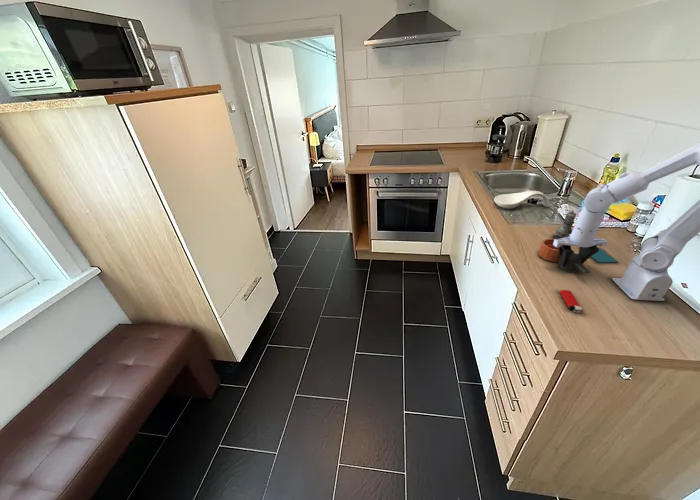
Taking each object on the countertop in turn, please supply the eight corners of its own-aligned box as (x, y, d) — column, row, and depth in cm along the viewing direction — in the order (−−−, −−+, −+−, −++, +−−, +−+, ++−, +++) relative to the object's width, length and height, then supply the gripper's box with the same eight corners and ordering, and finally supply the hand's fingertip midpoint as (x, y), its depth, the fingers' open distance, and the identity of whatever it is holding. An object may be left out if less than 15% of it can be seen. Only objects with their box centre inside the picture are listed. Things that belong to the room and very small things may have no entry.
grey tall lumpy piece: (554, 233, 113) (564, 205, 107) (572, 237, 110) (583, 209, 104) (551, 239, 110) (562, 211, 103) (569, 244, 106) (582, 215, 100)
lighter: (571, 290, 83) (583, 309, 77) (570, 294, 84) (582, 313, 77) (560, 289, 84) (571, 308, 77) (559, 293, 85) (570, 312, 78)
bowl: (569, 263, 96) (575, 251, 94) (543, 262, 98) (548, 250, 95) (558, 250, 103) (563, 239, 100) (534, 250, 104) (538, 238, 102)
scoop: (556, 263, 97) (561, 252, 94) (571, 263, 96) (576, 251, 94) (574, 281, 88) (580, 269, 86) (591, 281, 88) (597, 269, 86)
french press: (498, 159, 204) (506, 124, 192) (505, 162, 196) (513, 126, 184) (482, 160, 204) (488, 125, 192) (488, 163, 196) (495, 127, 184)
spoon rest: (497, 211, 133) (501, 197, 129) (489, 201, 143) (492, 188, 139) (551, 210, 130) (557, 196, 127) (539, 200, 140) (543, 186, 137)
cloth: (598, 263, 96) (598, 262, 96) (581, 248, 103) (581, 247, 103) (617, 262, 96) (617, 261, 95) (598, 248, 103) (598, 247, 103)
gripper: (601, 220, 90) (585, 257, 97) (553, 222, 90) (540, 258, 98) (618, 231, 84) (599, 269, 91) (567, 233, 84) (552, 270, 92)
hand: (570, 264), depth 94 cm, fingers closed on scoop, 5 cm apart
